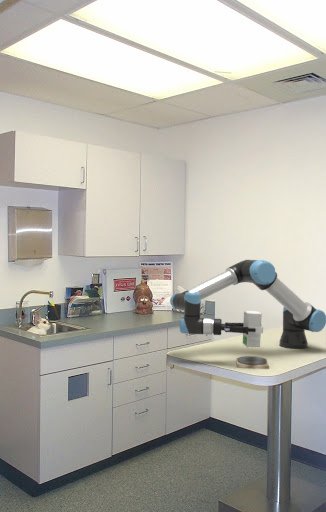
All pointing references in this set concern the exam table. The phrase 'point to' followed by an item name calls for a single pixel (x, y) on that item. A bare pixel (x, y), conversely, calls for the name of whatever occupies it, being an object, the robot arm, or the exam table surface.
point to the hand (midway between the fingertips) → (262, 328)
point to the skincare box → (252, 321)
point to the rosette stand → (252, 362)
